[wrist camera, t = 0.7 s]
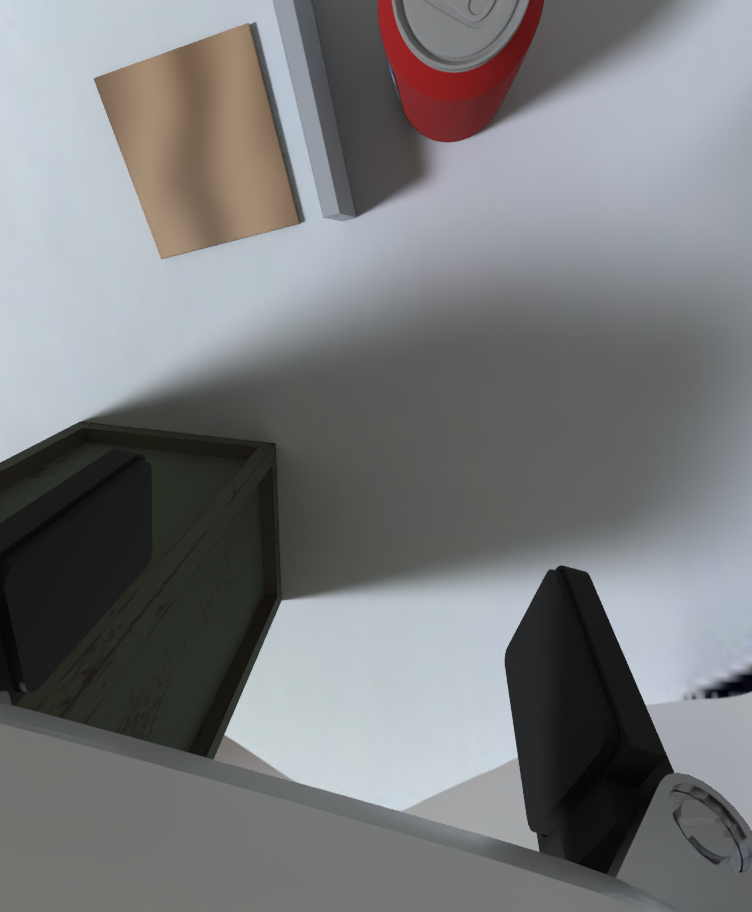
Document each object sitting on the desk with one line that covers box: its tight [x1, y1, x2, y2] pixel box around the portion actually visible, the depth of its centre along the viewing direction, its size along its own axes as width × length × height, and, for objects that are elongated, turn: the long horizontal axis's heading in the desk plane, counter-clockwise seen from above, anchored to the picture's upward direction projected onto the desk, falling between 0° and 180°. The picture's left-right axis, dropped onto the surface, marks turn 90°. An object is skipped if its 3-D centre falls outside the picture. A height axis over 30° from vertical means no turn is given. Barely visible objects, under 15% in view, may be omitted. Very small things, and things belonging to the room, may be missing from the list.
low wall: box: [273, 0, 356, 221], centre depth 26 cm, size 1×12×6 cm, turn 12°
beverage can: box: [378, 0, 544, 142], centre depth 22 cm, size 7×7×12 cm
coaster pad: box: [94, 23, 300, 259], centre depth 31 cm, size 11×11×1 cm
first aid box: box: [0, 422, 281, 759], centre depth 27 cm, size 18×18×40 cm
